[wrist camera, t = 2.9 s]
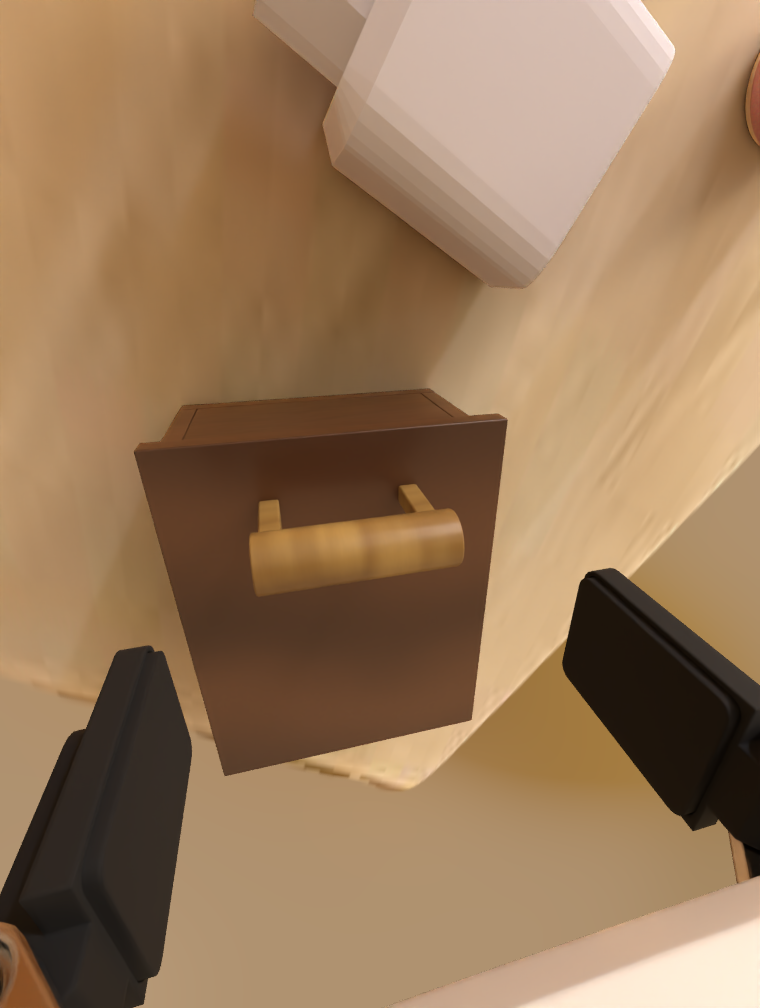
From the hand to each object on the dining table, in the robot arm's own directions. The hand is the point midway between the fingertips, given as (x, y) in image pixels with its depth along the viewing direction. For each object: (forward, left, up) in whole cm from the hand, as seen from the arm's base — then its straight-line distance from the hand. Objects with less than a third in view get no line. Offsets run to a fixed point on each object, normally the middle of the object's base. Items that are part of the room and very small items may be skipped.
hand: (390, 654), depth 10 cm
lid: (+4, -4, -8) cm, 10 cm away
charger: (-7, +14, -16) cm, 22 cm away
